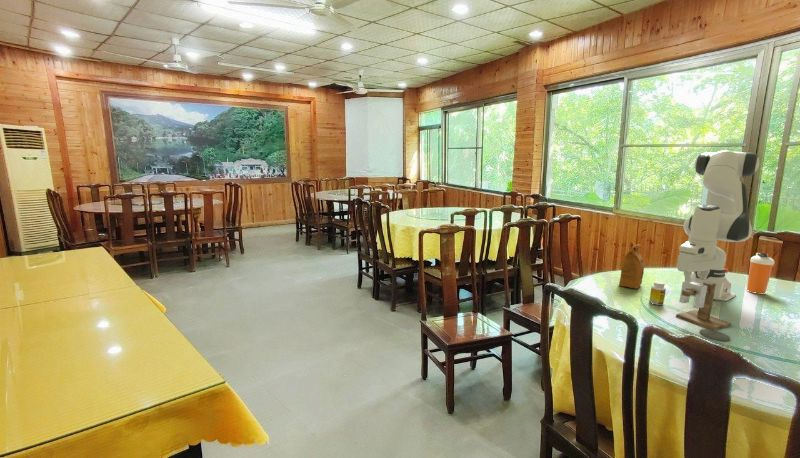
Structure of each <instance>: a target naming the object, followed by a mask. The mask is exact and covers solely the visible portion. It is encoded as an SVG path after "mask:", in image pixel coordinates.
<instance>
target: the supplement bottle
mask: <svg viewBox="0 0 800 458" xmlns="http://www.w3.org/2000/svg"><path fill="white" fill-rule="evenodd" d="M666 290H667V288H666V287H665V283H664V282H662V281H659V280H658V281H654V282H653V284H652V285H651V289H650V293H649V301H648V302H649V303H650V302H651V303H653V304H657V305H662V306H664V303H665V297H666ZM651 303H650V304H651ZM653 304H652V305H653ZM657 305H656V306H657Z"/></svg>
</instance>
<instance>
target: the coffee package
mask: <svg viewBox="0 0 800 458" xmlns="http://www.w3.org/2000/svg"><path fill="white" fill-rule="evenodd" d="M642 247H643V246H642V245H641V243H638V244H635V245H633V246H632V248H631V249H630V250H629V251H628V252H627V253H626V254H625V256H623V257H624V258H623V261H622V265H621V268H620V270H621V271H620V278H619V284H618V285H619V287H623V288H630V289H638V288H639V287H640V286H641V285H642V283H643V277H644V270H645V263H644V258H643V257H642V255H641V253H640V249H641V248H642Z"/></svg>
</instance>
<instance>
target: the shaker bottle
mask: <svg viewBox="0 0 800 458" xmlns="http://www.w3.org/2000/svg"><path fill="white" fill-rule="evenodd" d="M749 261H750V262H749V263H750V264H749V265H750V266H749V273H748V278H747V286H746V291H747V290H749V291H751V292H756V293H765V292H767V289H768V284H769V281H770V278H771V274H772V270H773V267H774V265H775V259H773V258H772V257H770V255H769V254H768V253H762V252H756V253H755V255H753V256H752V257H750V260H749ZM751 292H750V293H751ZM765 294H766V293H765Z"/></svg>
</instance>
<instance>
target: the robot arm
mask: <svg viewBox="0 0 800 458" xmlns="http://www.w3.org/2000/svg"><path fill="white" fill-rule="evenodd" d="M759 167H760V159H759V155H758V154H757V153H755V152H748V151H747V152H743V151H732V150H728V149H727V150H725V149H724V150H720V151H717V152H703V153H702V152H701V153H700V154H699V155H697V157H696V159H695V162H694V169H695V172H696V174H698V175H701V176H703V177H702V178H703V179H702V182H703V186H704V187H705V189H706V190H707V195H706V200H705V203H706V204H699V205H696V206H695V208H694V211H693V214H692V215H691V216H688V217H687V218H686V219H685V220H684V223H683V231H684V232H685V234H686V235H687V236H688V238H687V241H685V242H684V243H682V244H681V245H679V247H678V251H679V254H678V257H677V265H676V268H677V271H679V272H682V273H683V277H684V280H683V281H685V282H687V283H690V282H696V283H699V284H703V282H711V283H715V284H716V287H715V292H714V297H713V300H718V301H723V302H724V301H729V300H731V299H733V298H734V297H736V295H737V294H736V292H733V291H731V289H732V283H731V281H729V280H728V278H726V274H728V273H729V269H728V268H725V265H726V260H727V253H726V252H725V250H724V249H722V248H720V247H718V246H717V245H718V241H722V242H729V243H732V242H733V243H740V242H745V241H747V240H749V239H750V238H751V236H752V235H753V227H752V224H751V220H750V214H749V198H748V190H747V186H746V184H745V183H744V182H742V181H740V177H742V179H745V178H748V177H751V176H753V175H754V174H755V173H756V172H757V171H758V169H759ZM694 296H695V297H696V295H694Z"/></svg>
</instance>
